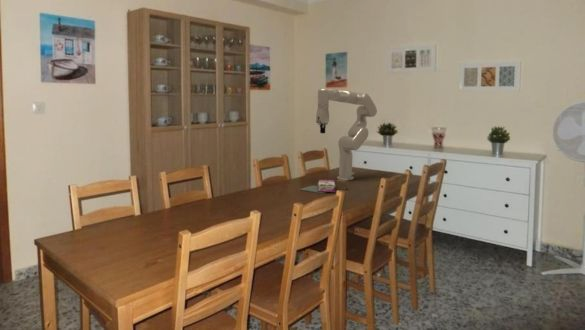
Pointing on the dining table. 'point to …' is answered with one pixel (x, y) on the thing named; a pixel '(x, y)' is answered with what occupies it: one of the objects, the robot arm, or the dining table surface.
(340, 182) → the walnut block
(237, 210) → the dining table surface
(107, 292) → the dining table surface
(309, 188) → the slate mat
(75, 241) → the dining table surface
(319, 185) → the candy bar box
